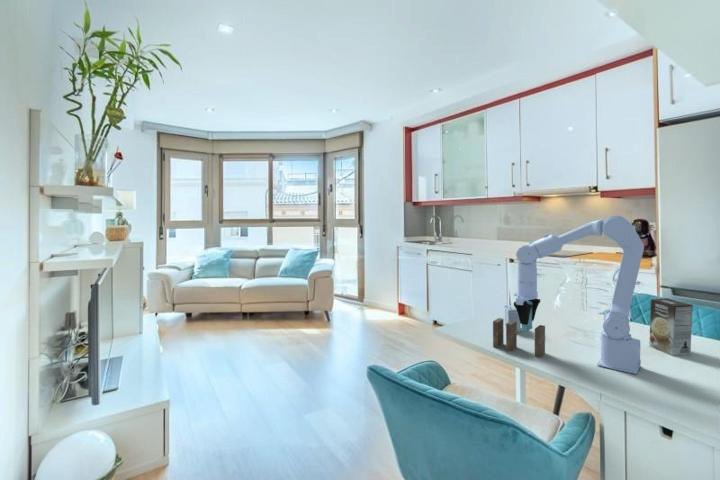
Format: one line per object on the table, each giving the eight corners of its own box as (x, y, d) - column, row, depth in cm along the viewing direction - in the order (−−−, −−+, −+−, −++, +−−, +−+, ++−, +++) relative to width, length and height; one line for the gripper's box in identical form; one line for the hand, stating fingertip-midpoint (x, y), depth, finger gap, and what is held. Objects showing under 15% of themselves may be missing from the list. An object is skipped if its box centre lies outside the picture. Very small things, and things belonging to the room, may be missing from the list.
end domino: (503, 344, 129) (503, 318, 129) (497, 348, 126) (497, 322, 125) (498, 343, 130) (498, 317, 130) (493, 347, 127) (493, 321, 126)
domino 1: (516, 346, 126) (516, 321, 126) (511, 351, 123) (510, 324, 122) (511, 345, 127) (511, 320, 127) (506, 350, 124) (506, 323, 123)
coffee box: (647, 346, 124) (649, 298, 123) (665, 345, 124) (667, 297, 123) (672, 356, 115) (674, 305, 114) (692, 355, 115) (694, 304, 114)
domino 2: (532, 328, 124) (532, 301, 123) (526, 331, 120) (526, 304, 120) (527, 327, 125) (527, 300, 125) (521, 330, 122) (521, 303, 121)
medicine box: (520, 332, 141) (520, 310, 141) (508, 332, 142) (508, 309, 141) (516, 326, 149) (516, 304, 148) (504, 325, 150) (504, 304, 149)
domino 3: (544, 353, 120) (545, 325, 120) (539, 357, 117) (540, 329, 116) (539, 351, 121) (539, 325, 121) (534, 356, 118) (534, 328, 117)
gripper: (522, 277, 130) (522, 315, 131) (506, 283, 119) (506, 325, 120) (544, 279, 125) (544, 318, 126) (529, 286, 114) (529, 329, 115)
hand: (527, 322), depth 123 cm, fingers closed on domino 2, 5 cm apart
